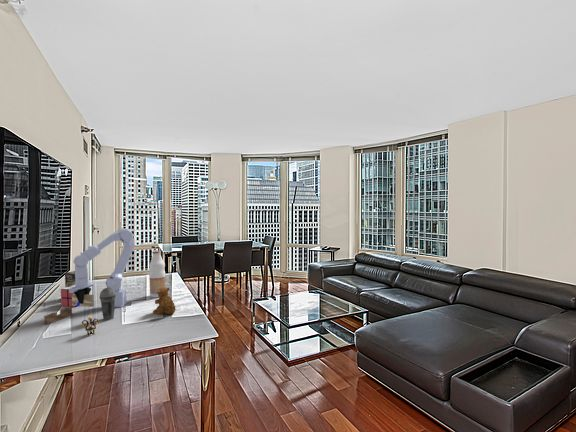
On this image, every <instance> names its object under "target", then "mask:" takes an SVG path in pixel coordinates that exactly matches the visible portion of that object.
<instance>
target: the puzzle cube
mask: <svg viewBox="0 0 576 432" xmlns="http://www.w3.org/2000/svg"><path fill="white" fill-rule="evenodd" d="M75 286H76V285H73V286H69V287H66V288H65V287H63V288H61V289H60V306H61V307H66V308H67V307H72V308H77V307H80V306H79V305H80V303H78V302H77V305H76V306H72V295H73V294H74V293H69V289H71V288H73V287H75Z"/></svg>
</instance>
